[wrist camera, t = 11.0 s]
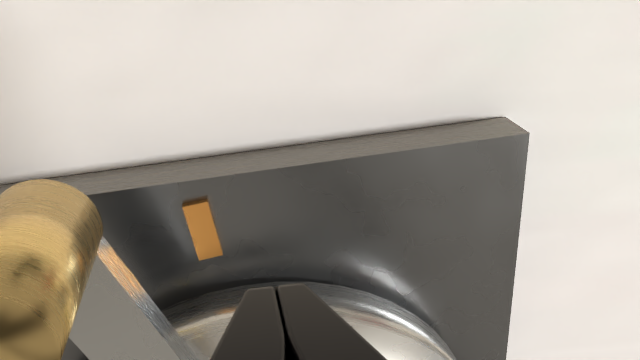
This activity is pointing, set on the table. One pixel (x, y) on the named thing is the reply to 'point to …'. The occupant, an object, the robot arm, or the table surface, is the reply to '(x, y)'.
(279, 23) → the table surface
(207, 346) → the grey rounded piece
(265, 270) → the cap housing
